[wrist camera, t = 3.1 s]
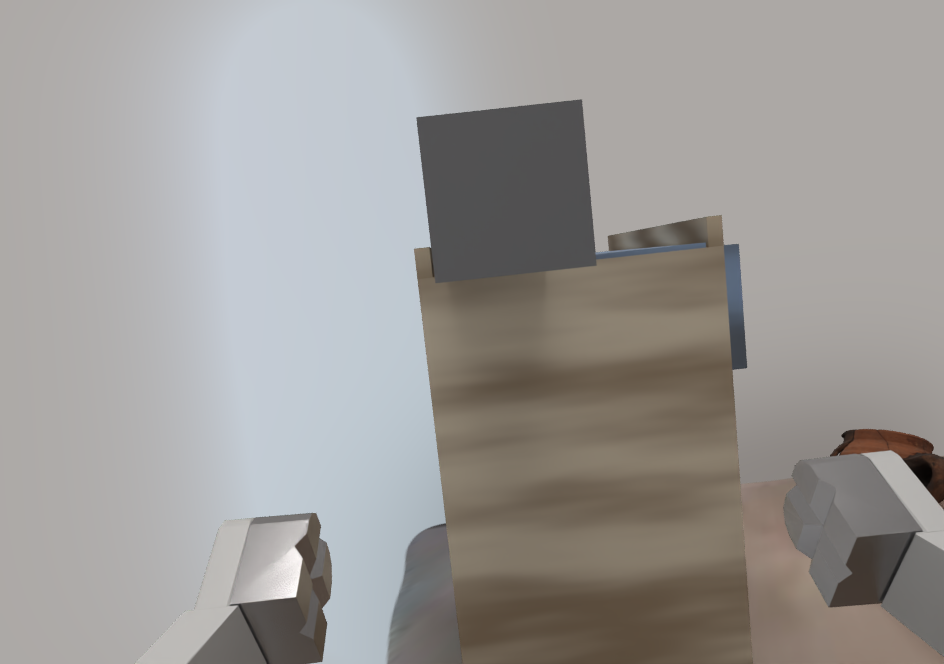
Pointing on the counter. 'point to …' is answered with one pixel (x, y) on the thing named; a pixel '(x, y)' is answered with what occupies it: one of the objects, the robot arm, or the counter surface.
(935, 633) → the robot arm
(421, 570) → the counter surface
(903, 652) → the counter surface
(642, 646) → the duct stand
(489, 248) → the dark gray block
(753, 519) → the counter surface
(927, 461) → the pottery mug
